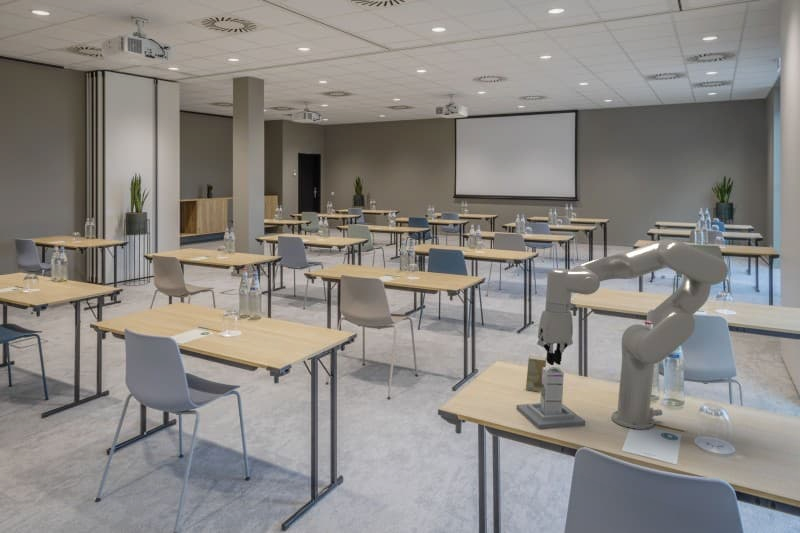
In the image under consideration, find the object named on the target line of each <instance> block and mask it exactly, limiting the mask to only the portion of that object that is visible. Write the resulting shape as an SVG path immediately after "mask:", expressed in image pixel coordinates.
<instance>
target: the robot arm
mask: <svg viewBox="0 0 800 533" xmlns="http://www.w3.org/2000/svg"><path fill="white" fill-rule="evenodd" d="M665 268H667V269H670V270H673V271H675V272H676V273H679V274H681V275H683V281H682V283H681V285H680V286H679V287H678V288H677V289H676V290H675V291H674V292H673V293H672V294H671V295H669V297H667V298H666V299H665V300H664V301H663V302H662V303H660V304H659V305H657V306H656V307H655V308H654V309H653V310H652V312H651V313H650V322H651V324H652V326H653V327H652V328H649V326H646V325H645V324H639V323H638V324H632V325H630V326H628V327H627V328H626V329H625V330H624V331H623V334H622V336H621V369H620V378H619V379H620V380H619V390H618V400H617V410H616V411H614V412H612V414H611V419H612V421H613V422H615V423H616V424H618V425H620V426H623V427H626V428H628V427H629V429H633V428H635V429H636V430H648V429H651V428H653V426H654V419H653V418H654V417H655V416H656V417H658V416H662V415H663V410H662V409H654V407H651V400H652V392H653V390H652V389H653V381H654V380H653V379H654V373H655V372H654V369H655V364H659V363H660V362H662V361H663V360H665V359H666V358H668V356H671V354H672V353H674V352H675V351H677V349H679V348H680V347H681V346H682V345H684V343H686V342H687V340H689V339H690V338H691V336H692V335H693V333H694V332H695V330H696V320H695V317H694V316H693V315H695V314H696V313H697V312H698V311H699V310H700V309H701V308H702V307H703V306H704V305H705V304H706V302H707V301H708V299H709V297H710V294H711V290H712V286H714V285H715V286H716V285H719V284H721V283H722V282H724V281H725V280H726V278H727V277H728V274H729V267H728V265H727V263H726V262H725V261H724V260H723V259H722V258H720V257H719V256H716V255H713V254H711V253H708V252H706V251H703V250H701V249H698V248H695V247H693V246H692V245H689V244H687V243H685V242H682V241H678V240H675V239H671V238H662V239H660V240H657V241H656V240H655V241H654V242H651V243H648V244H646V245H641V246H639V247H636V248H634V249H631V250H628V251H624V252H621V253H617V254H612V255H609V256H604V257H599V258H596V259H593V260H590V261H587V262H584V263H581V264H578V265H576V266H574V267H572V269H568V268H563V267H553V268H549V269H548V272H547V277H546V278H547V281H546V283H547V284H546V295H545V297H546V298H545V308H544V310H542V312H541V316H540V317H539V318H540V319H539V324H538V331H537V339H538V340H537V343H536V345H538V346H540V347H542V348H544V350H545V351H546V357H547V358H546V364H547V363H548V364H549V365H550V366H554V363H555V364H556V365H557V366H558V365H559V366H560V365H561V362H562V358H563V357H562V356H563V353H564V352H565V349H567V348H568V347H569V346H571V345H573V344H574V341H573V334H574V328H573V326H574V325H573V324H574V323H573V316H572V312H571V309H572V308H574V303H572V300H571V299H572V293H574V294H580V295H586V296H587V295H592V294H594V293H596V292H597V291H598V290H599V288H600V287H601V282H604V281H609V280H616V279H618V280H619V279H621V280H632V279H636V278H639V277H642V276H645V275H648V274H650V273H653V272H657V271H661V270H663V269H665ZM554 344H556V346H555V348H556V349H554ZM647 428H648V429H647Z"/></svg>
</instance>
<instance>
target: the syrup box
mask: <svg viewBox="0 0 800 533" xmlns="http://www.w3.org/2000/svg"><path fill="white" fill-rule="evenodd" d="M564 377H565V376H564V372H563V371H562V370H561V368H560V367H556V366H555V367H554V366H546V367H543V369H542V386H541V392H540V402H539V403H540V409H541V411H542V413H543V414H544V416H547V415H560V414H561V411H562V404H563V394H564Z"/></svg>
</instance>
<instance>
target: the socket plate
mask: <svg viewBox="0 0 800 533" xmlns="http://www.w3.org/2000/svg"><path fill="white" fill-rule="evenodd" d="M540 403H541V402H534V403H524V404H516V408H515V409H516V411H517V412H519V413H520V414H521V415H522V416H523V417H525V418H526V419H527V420H528V421H529V422H530V423H531V424H532V425H534V426H535V428H537V429H538V430H547V429H561V428H570V427H571V428H573V427H582V426H583V427H584V426H586V422H587V421H586V420H585V419H584V418H582V417H581V416H579V415H578V414H577V413H575V412H574V411H573V410H572V409H570V408H569V407H567V406H566V405H565V404H564V403H562V411H561V414H560V415H547V416H544V414H543V413H542V411H541V409H540Z"/></svg>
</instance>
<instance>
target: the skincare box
mask: <svg viewBox="0 0 800 533" xmlns="http://www.w3.org/2000/svg"><path fill="white" fill-rule="evenodd" d="M546 365H547V356H539V355H532V354H530V355H529V356H528V363H527V372H526V383H525V390H526V391H533V392H538V393H541V386H542V369H543V367H547V366H546Z"/></svg>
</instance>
